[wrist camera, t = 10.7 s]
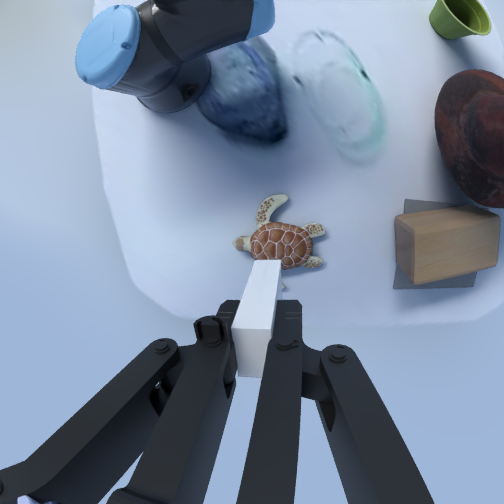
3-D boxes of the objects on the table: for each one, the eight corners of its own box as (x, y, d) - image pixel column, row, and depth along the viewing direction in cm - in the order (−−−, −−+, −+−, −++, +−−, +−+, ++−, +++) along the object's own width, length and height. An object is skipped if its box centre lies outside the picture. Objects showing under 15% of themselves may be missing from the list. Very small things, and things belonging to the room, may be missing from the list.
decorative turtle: (234, 192, 49) (227, 196, 44) (327, 195, 46) (330, 200, 42) (236, 283, 55) (230, 294, 50) (319, 288, 53) (320, 300, 48)
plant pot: (411, -1, 28) (429, -24, 17) (454, 10, 25) (477, -7, 15) (428, 44, 31) (453, 26, 21) (471, 54, 29) (499, 42, 19)
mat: (404, 199, 43) (405, 199, 43) (487, 208, 40) (488, 208, 40) (392, 288, 50) (393, 288, 49) (472, 286, 46) (473, 286, 46)
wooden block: (395, 264, 48) (473, 249, 43) (412, 288, 38) (498, 267, 34) (392, 214, 45) (474, 203, 40) (413, 229, 35) (502, 214, 31)
